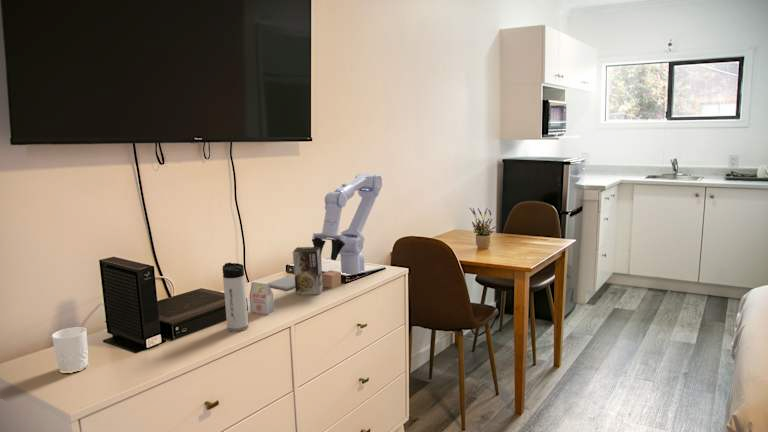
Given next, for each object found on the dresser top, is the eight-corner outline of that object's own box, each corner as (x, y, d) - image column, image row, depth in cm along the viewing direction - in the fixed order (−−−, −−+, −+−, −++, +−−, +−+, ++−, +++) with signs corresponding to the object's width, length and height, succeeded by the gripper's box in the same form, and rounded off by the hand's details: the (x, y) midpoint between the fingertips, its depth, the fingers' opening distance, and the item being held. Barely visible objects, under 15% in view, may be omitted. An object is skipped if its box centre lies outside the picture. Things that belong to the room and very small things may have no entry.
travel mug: (240, 322, 180) (236, 260, 176) (252, 327, 175) (247, 264, 172) (222, 328, 176) (217, 264, 172) (234, 333, 171) (228, 268, 167)
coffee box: (323, 289, 211) (321, 246, 208) (319, 294, 205) (317, 250, 202) (299, 289, 212) (296, 246, 209) (295, 294, 206) (292, 251, 203)
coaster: (287, 277, 227) (287, 276, 227) (309, 282, 220) (309, 280, 220) (265, 285, 218) (264, 283, 218) (287, 290, 211) (287, 288, 211)
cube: (330, 283, 219) (330, 270, 218) (341, 284, 216) (340, 272, 215) (322, 286, 215) (321, 273, 214) (332, 288, 212) (331, 275, 211)
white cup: (76, 360, 155) (71, 325, 153) (97, 364, 152) (93, 328, 150) (49, 372, 148) (44, 336, 146) (71, 377, 145) (66, 340, 143)
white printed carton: (257, 309, 192) (255, 280, 190) (274, 311, 189) (272, 282, 187) (250, 312, 189) (248, 283, 187) (267, 315, 186) (265, 285, 184)
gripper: (309, 220, 215) (303, 255, 213) (340, 221, 206) (333, 259, 204) (321, 224, 220) (315, 258, 218) (351, 225, 212) (345, 262, 210)
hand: (325, 259), depth 212 cm, fingers open, 7 cm apart
